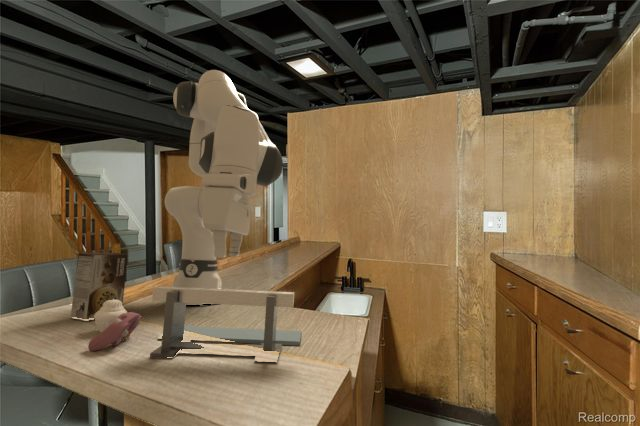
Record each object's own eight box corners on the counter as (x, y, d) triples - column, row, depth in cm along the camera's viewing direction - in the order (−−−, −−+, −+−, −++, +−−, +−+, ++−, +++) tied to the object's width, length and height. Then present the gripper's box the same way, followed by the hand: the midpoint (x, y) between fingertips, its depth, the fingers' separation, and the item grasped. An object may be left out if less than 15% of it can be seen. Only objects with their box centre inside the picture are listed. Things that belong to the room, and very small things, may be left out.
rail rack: (170, 343, 61) (176, 286, 62) (281, 348, 62) (285, 291, 63) (149, 357, 53) (156, 292, 54) (277, 363, 54) (281, 298, 55)
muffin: (132, 330, 69) (136, 298, 69) (104, 337, 63) (108, 302, 64) (113, 326, 71) (117, 295, 72) (84, 332, 65) (89, 299, 66)
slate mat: (175, 329, 71) (175, 325, 71) (301, 334, 72) (301, 331, 72) (158, 339, 63) (158, 335, 63) (299, 345, 64) (300, 341, 64)
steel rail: (158, 298, 59) (159, 286, 60) (293, 304, 60) (294, 292, 60) (152, 301, 57) (153, 287, 57) (292, 307, 57) (293, 294, 58)
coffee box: (106, 312, 84) (113, 252, 86) (122, 315, 82) (129, 253, 83) (68, 318, 76) (77, 252, 77) (85, 322, 73) (94, 253, 75)
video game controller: (107, 361, 55) (130, 325, 56) (83, 349, 55) (107, 313, 56) (131, 343, 65) (150, 313, 66) (111, 333, 64) (130, 303, 65)
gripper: (231, 194, 71) (226, 255, 69) (198, 172, 51) (190, 257, 49) (258, 196, 71) (254, 256, 69) (237, 174, 51) (230, 259, 49)
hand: (227, 256), depth 59 cm, fingers open, 8 cm apart
